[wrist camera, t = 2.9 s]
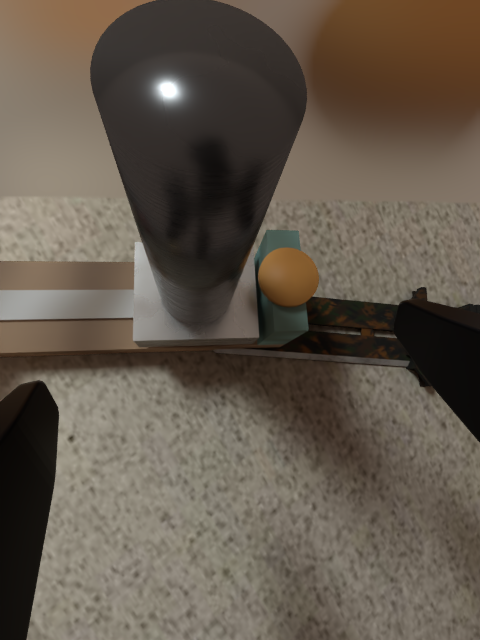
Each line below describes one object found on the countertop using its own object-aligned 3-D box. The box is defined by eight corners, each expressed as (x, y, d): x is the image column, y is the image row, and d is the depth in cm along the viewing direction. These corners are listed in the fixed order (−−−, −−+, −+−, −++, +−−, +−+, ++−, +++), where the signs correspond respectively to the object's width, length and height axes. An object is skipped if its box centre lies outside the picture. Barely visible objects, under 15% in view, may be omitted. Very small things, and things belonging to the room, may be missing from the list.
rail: (281, 272, 21) (313, 226, 16) (287, 347, 20) (324, 328, 14) (-86, 271, 18) (-213, 213, 12) (-102, 360, 17) (-250, 341, 11)
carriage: (246, 259, 19) (351, -9, 6) (252, 343, 18) (391, 217, 5) (141, 258, 18) (23, -55, 6) (139, 347, 17) (-12, 205, 4)
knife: (172, 347, 20) (171, 343, 18) (191, 250, 21) (191, 241, 20) (539, 406, 22) (562, 407, 21) (532, 316, 24) (553, 312, 22)
